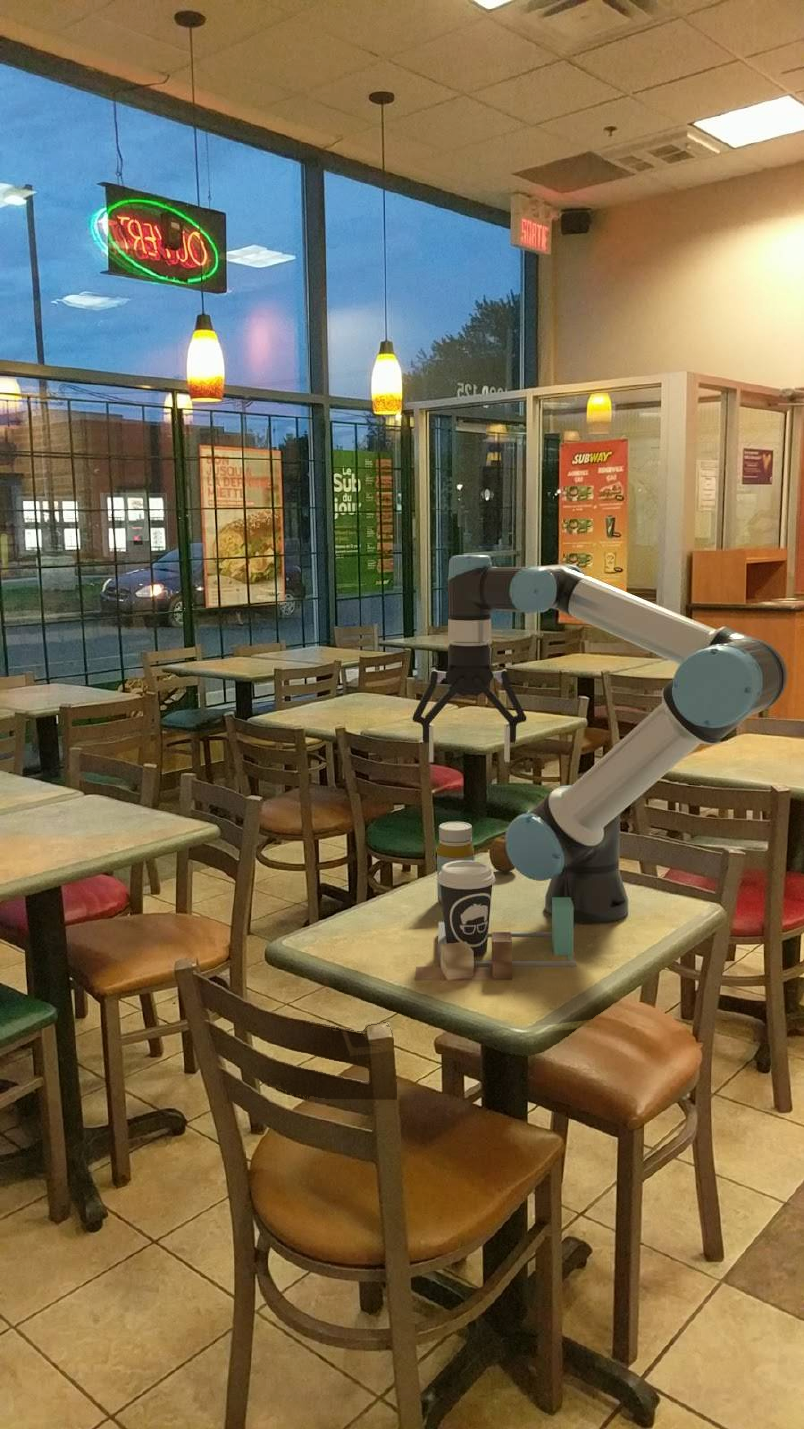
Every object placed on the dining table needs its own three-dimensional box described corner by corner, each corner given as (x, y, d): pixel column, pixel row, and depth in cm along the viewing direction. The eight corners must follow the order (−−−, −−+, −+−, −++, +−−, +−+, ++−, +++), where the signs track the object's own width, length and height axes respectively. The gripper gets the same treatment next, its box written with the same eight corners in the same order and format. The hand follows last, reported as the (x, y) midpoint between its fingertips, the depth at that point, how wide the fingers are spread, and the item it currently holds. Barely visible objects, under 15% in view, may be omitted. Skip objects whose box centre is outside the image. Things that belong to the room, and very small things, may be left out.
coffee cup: (503, 947, 177) (502, 861, 175) (485, 969, 169) (484, 879, 166) (449, 940, 181) (448, 856, 178) (429, 961, 172) (428, 872, 170)
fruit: (520, 868, 219) (520, 831, 218) (518, 878, 213) (518, 839, 212) (490, 867, 220) (490, 830, 219) (487, 876, 214) (487, 838, 213)
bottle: (481, 900, 201) (480, 823, 198) (463, 911, 195) (462, 832, 192) (449, 894, 204) (448, 819, 202) (430, 904, 199) (429, 827, 196)
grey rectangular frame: (567, 938, 181) (567, 888, 179) (576, 970, 167) (576, 916, 166) (438, 938, 182) (438, 888, 180) (437, 970, 168) (437, 916, 167)
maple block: (466, 966, 168) (466, 941, 167) (473, 977, 164) (473, 951, 163) (440, 969, 167) (440, 944, 166) (447, 980, 163) (447, 954, 162)
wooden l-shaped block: (510, 971, 167) (510, 930, 166) (512, 984, 162) (512, 942, 161) (416, 971, 168) (415, 930, 167) (415, 984, 163) (414, 942, 162)
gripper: (538, 640, 189) (536, 755, 193) (399, 641, 190) (400, 756, 194) (542, 645, 182) (540, 764, 186) (398, 645, 183) (399, 765, 186)
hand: (469, 760), depth 190 cm, fingers open, 13 cm apart
